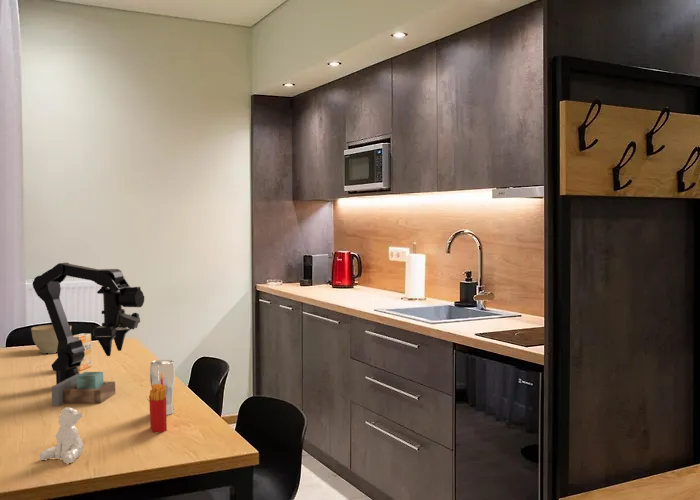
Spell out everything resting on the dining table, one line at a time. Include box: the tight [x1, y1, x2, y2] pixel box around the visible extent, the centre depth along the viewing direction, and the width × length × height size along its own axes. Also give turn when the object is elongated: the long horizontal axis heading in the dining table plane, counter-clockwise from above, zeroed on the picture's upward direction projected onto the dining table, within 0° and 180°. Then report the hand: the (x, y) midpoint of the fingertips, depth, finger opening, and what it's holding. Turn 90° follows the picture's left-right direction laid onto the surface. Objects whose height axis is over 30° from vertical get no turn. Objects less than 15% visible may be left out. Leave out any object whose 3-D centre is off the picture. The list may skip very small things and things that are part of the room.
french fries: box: [148, 384, 168, 433], centre depth 190 cm, size 8×4×12 cm, turn 23°
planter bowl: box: [30, 324, 72, 354], centre depth 305 cm, size 16×16×11 cm
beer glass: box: [149, 359, 176, 416], centre depth 206 cm, size 7×7×15 cm
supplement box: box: [73, 333, 93, 372], centre depth 269 cm, size 8×5×13 cm, turn 168°
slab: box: [51, 373, 81, 407], centre depth 224 cm, size 2×18×6 cm, turn 177°
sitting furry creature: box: [38, 406, 84, 464], centre depth 169 cm, size 10×9×12 cm
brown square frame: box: [63, 381, 116, 404], centre depth 224 cm, size 12×12×4 cm
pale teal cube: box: [77, 371, 104, 389], centre depth 224 cm, size 6×6×8 cm
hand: (114, 353), depth 236 cm, fingers open, 9 cm apart
